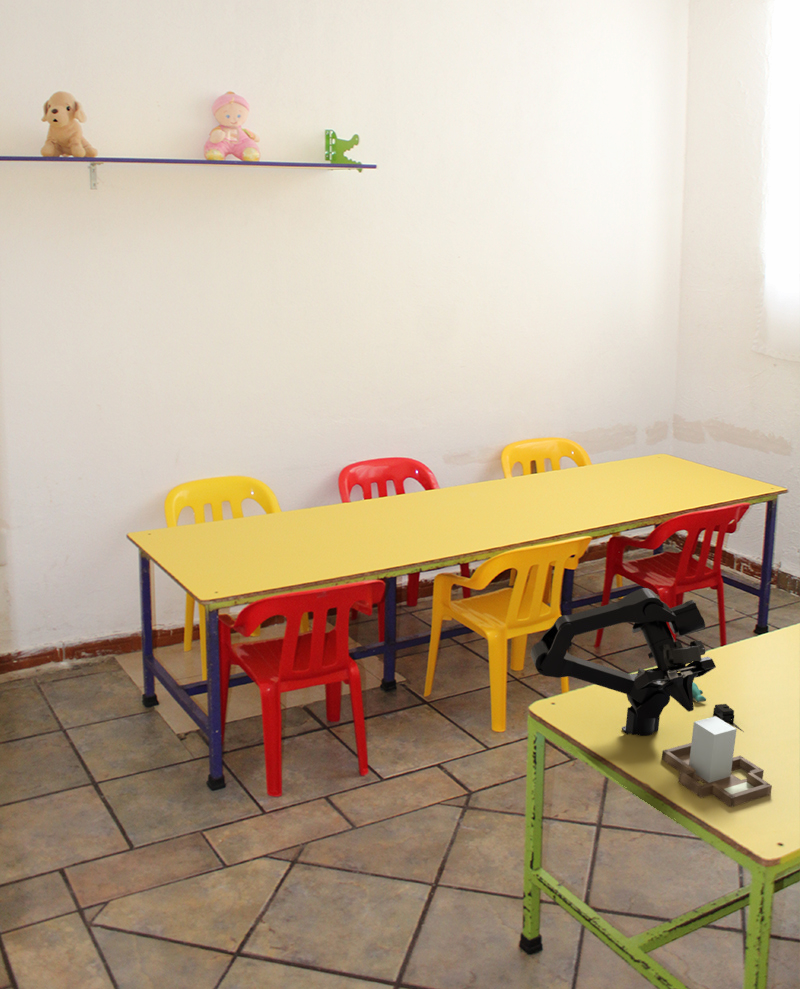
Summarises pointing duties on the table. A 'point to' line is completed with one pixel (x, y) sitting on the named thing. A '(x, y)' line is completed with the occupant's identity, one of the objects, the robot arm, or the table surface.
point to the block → (712, 748)
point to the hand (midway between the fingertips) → (691, 710)
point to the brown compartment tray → (723, 789)
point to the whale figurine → (697, 694)
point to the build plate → (725, 714)
